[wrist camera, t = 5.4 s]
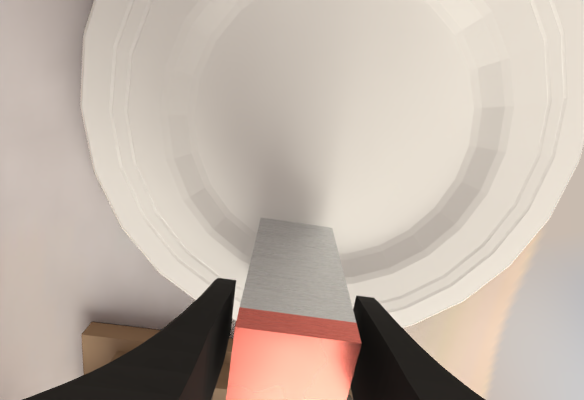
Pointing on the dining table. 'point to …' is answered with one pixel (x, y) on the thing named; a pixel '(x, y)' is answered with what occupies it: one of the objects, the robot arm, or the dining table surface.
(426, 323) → the dining table surface
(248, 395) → the pin
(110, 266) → the dining table surface
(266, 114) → the plate
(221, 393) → the board
